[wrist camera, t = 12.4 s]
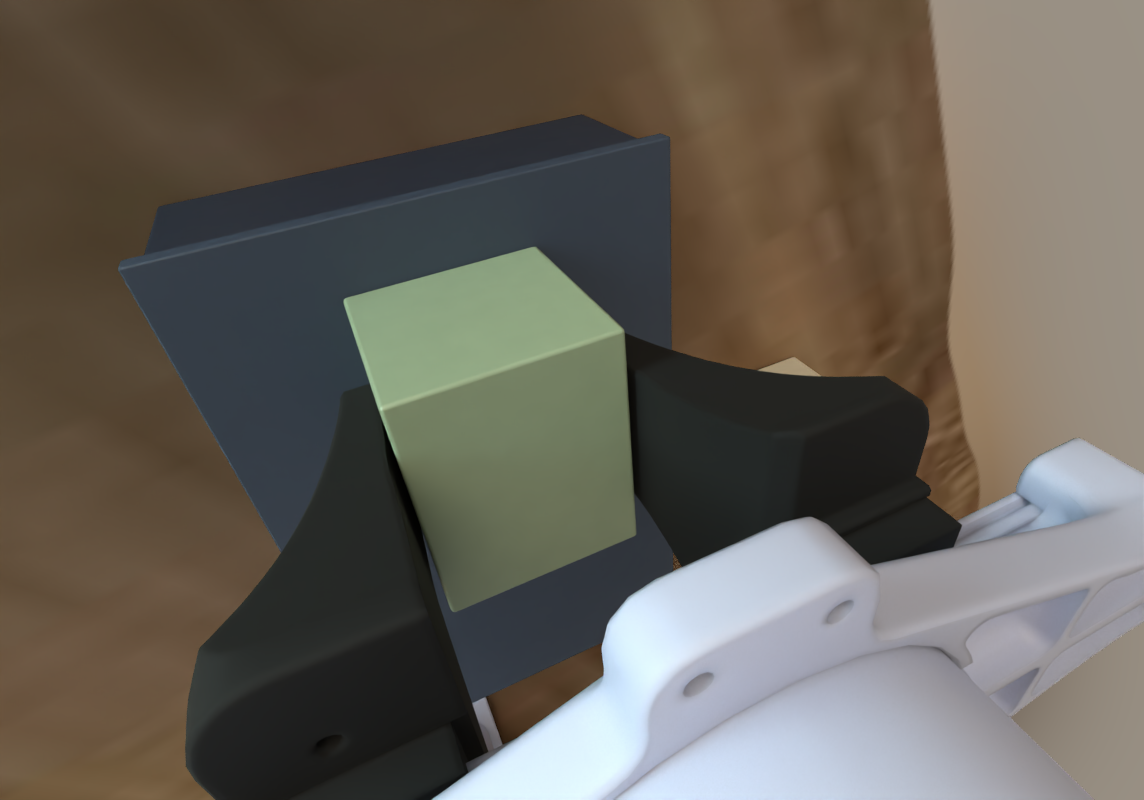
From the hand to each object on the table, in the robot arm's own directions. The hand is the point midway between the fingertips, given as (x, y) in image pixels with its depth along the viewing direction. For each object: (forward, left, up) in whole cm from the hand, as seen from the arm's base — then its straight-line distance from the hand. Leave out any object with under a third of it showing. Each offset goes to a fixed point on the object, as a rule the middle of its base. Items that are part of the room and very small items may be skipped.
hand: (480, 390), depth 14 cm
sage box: (0, 0, -1) cm, 1 cm away
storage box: (-4, 0, -5) cm, 6 cm away
